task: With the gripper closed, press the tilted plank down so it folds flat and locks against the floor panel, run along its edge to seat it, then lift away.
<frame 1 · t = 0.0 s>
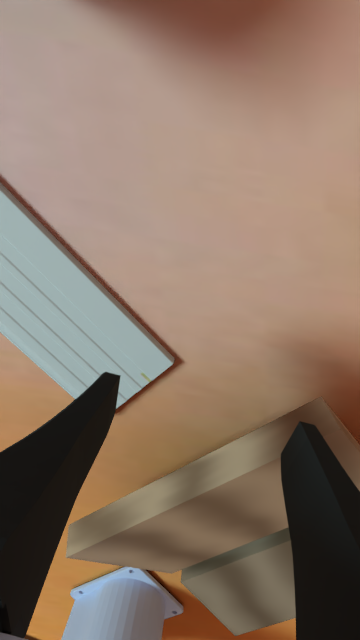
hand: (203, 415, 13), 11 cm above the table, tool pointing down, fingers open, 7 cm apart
plank: (228, 506, 24), point 4 cm above the table, hinge at 25.0°
floor panel: (299, 553, 30), on the table
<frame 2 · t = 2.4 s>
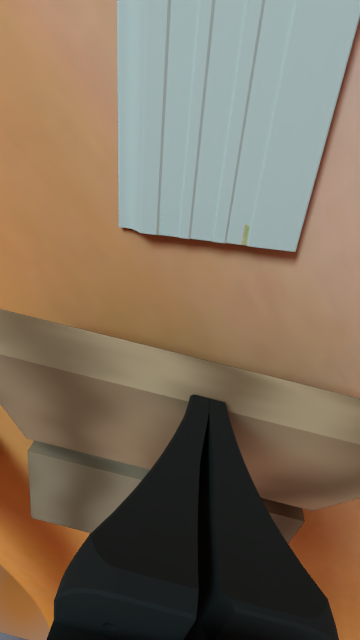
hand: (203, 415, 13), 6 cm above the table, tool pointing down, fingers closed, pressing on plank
plank: (185, 431, 18), point 3 cm above the table, hinge at 21.9°, touching gripper
floor panel: (159, 494, 27), on the table
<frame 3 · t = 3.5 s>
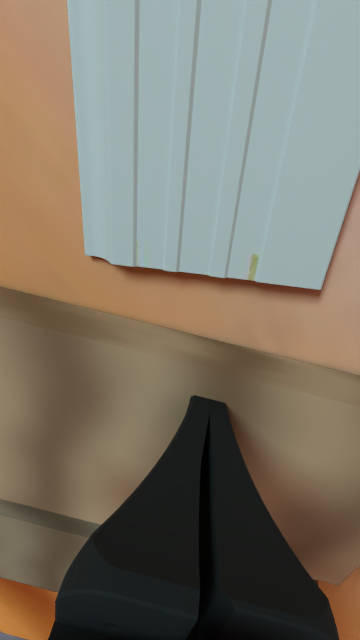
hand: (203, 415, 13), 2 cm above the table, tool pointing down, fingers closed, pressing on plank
plank: (183, 453, 15), point 1 cm above the table, hinge at -0.4°, touching gripper
floor panel: (148, 552, 23), on the table
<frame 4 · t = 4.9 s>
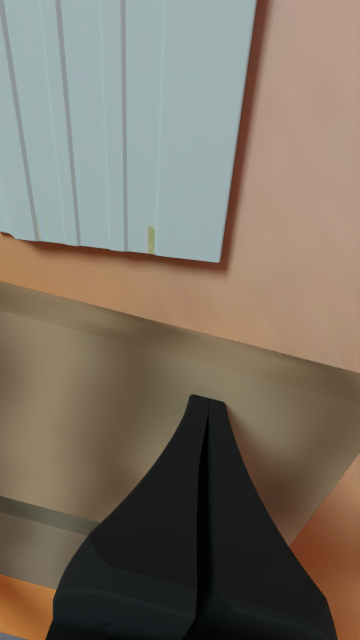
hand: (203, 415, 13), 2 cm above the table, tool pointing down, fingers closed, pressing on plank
plank: (109, 431, 16), point 1 cm above the table, hinge at -1.1°, touching gripper
floor panel: (98, 537, 23), on the table
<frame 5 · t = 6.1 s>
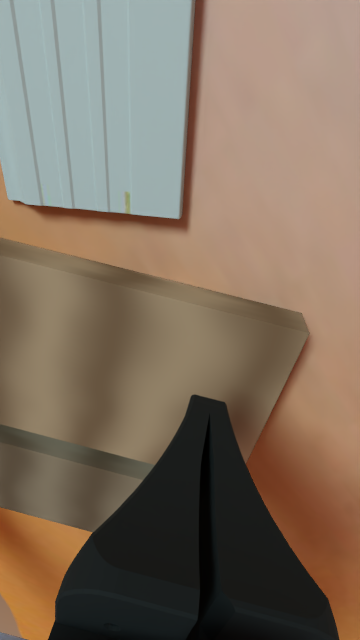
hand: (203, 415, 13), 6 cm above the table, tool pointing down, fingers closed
plank: (98, 366, 19), point 1 cm above the table, hinge at -1.1°
floor panel: (92, 476, 27), on the table
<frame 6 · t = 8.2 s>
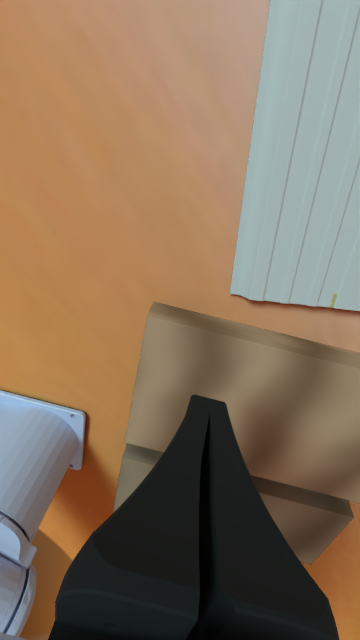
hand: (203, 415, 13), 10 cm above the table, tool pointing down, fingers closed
plank: (269, 411, 24), point 1 cm above the table, hinge at -1.1°
floor panel: (223, 493, 31), on the table
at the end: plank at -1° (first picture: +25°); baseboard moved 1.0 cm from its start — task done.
